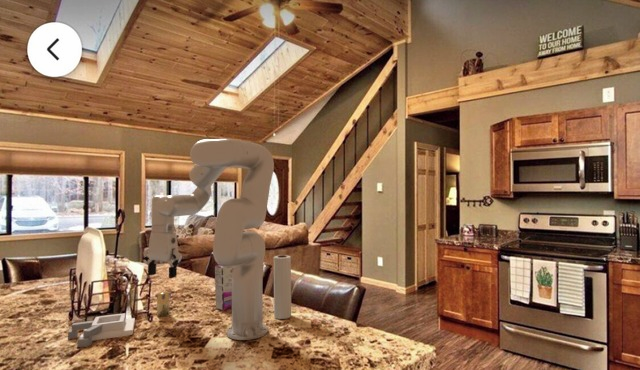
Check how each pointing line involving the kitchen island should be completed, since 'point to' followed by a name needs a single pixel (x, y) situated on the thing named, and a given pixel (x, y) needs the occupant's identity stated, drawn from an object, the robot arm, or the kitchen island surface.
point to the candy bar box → (223, 287)
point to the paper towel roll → (282, 286)
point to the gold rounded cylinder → (163, 303)
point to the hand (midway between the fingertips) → (162, 276)
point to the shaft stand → (102, 329)
